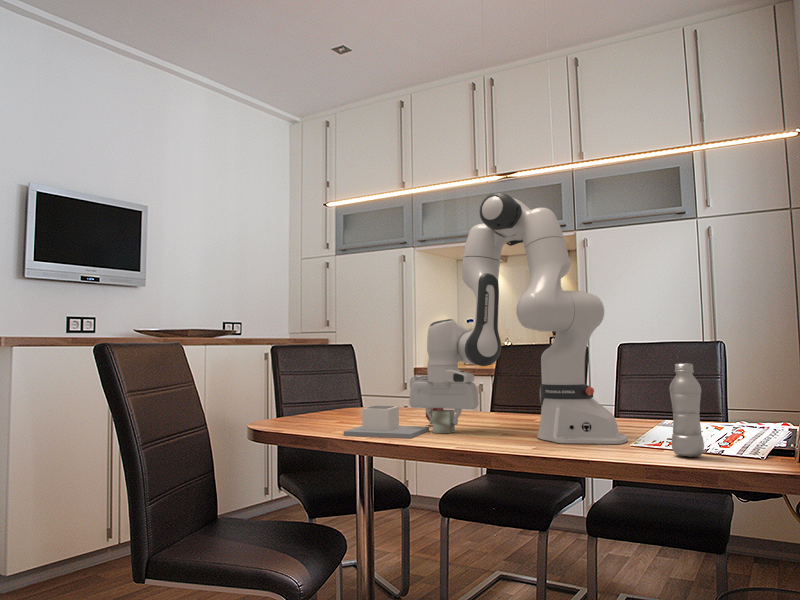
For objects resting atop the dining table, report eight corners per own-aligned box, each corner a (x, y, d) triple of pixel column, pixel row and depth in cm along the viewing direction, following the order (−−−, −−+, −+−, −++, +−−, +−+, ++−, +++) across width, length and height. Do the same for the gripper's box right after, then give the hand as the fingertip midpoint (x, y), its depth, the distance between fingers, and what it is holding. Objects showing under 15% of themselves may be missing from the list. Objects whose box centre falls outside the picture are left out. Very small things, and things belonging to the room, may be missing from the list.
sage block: (454, 431, 179) (454, 410, 179) (449, 433, 174) (449, 411, 174) (438, 430, 180) (437, 409, 181) (432, 432, 176) (432, 411, 176)
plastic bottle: (694, 453, 138) (690, 363, 139) (711, 459, 131) (706, 364, 132) (666, 454, 137) (662, 363, 139) (681, 459, 131) (676, 364, 132)
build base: (429, 430, 181) (428, 405, 182) (410, 438, 166) (410, 410, 167) (366, 428, 188) (366, 403, 189) (343, 435, 173) (343, 408, 174)
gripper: (405, 376, 180) (406, 424, 179) (472, 376, 171) (474, 427, 170) (414, 375, 186) (414, 421, 184) (479, 375, 177) (480, 424, 176)
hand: (443, 424), depth 177 cm, fingers closed on sage block, 5 cm apart
